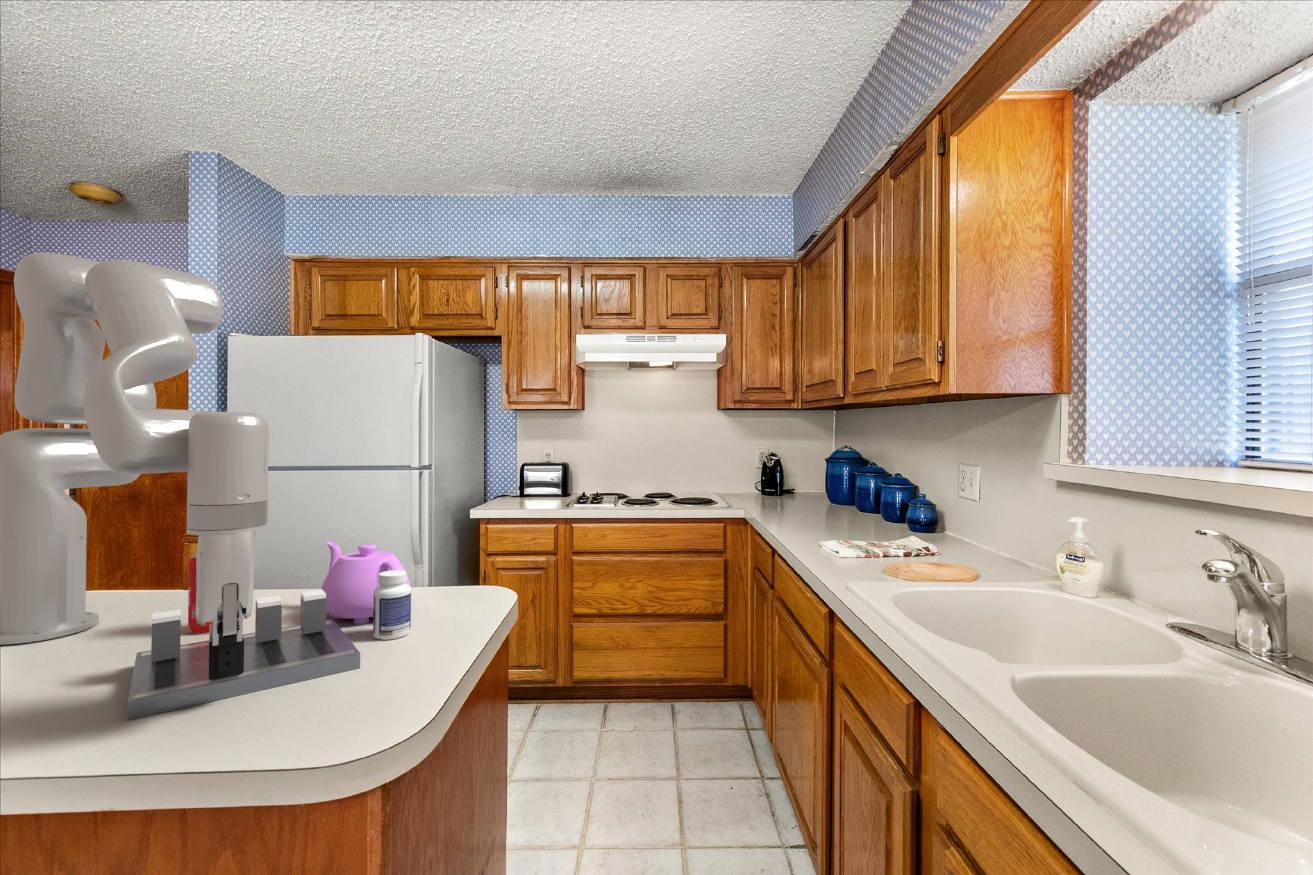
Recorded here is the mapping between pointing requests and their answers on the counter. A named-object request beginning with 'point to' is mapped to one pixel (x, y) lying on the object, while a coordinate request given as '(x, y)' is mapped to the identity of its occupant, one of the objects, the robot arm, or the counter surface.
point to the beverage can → (194, 601)
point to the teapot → (356, 581)
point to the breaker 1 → (166, 635)
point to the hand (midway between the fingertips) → (226, 674)
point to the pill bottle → (392, 606)
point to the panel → (263, 669)
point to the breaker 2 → (268, 619)
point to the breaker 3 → (313, 611)
